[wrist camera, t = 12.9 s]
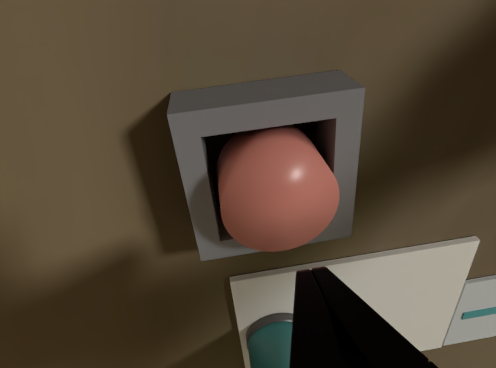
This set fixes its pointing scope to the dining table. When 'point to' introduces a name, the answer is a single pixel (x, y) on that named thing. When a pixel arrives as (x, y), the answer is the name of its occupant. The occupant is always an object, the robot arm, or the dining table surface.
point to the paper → (374, 288)
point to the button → (275, 189)
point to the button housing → (258, 117)
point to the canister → (270, 341)
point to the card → (474, 312)
